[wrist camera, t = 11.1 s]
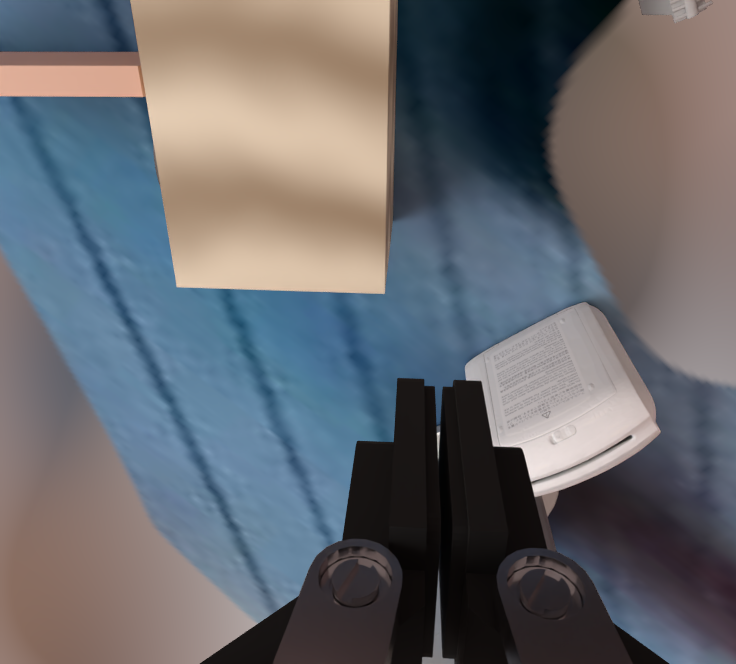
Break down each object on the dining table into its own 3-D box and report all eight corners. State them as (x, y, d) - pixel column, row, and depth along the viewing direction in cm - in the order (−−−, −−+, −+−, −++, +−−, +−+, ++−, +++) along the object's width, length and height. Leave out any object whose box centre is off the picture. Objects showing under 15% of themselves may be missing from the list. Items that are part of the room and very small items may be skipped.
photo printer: (484, 404, 44) (507, 533, 33) (453, 362, 42) (466, 483, 31) (617, 337, 40) (691, 457, 30) (589, 289, 39) (655, 396, 28)
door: (210, 52, 33) (137, 65, 25) (215, 97, 34) (147, 126, 26) (-47, 51, 34) (-202, 65, 26) (-33, 96, 35) (-178, 123, 27)
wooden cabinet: (392, 221, 38) (384, 293, 28) (215, 217, 38) (148, 286, 29) (402, -187, 28) (394, -291, 19) (167, -183, 29) (42, -281, 19)
